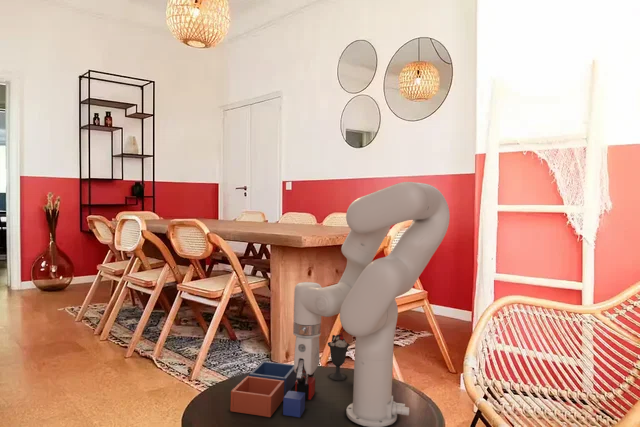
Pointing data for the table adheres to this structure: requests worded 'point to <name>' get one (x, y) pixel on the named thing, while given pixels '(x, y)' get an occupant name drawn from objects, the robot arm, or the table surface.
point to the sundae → (338, 354)
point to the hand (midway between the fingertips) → (305, 394)
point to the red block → (311, 386)
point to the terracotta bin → (257, 396)
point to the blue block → (294, 403)
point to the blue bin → (276, 373)
